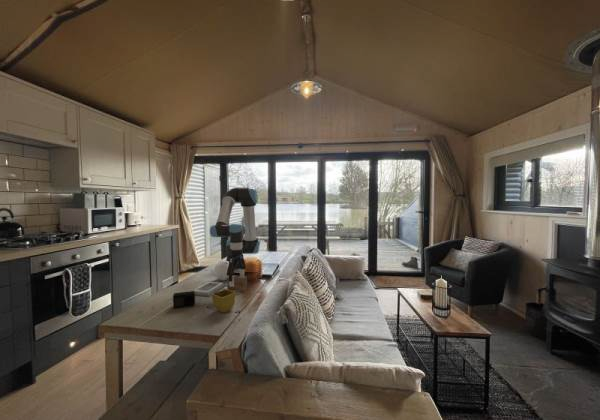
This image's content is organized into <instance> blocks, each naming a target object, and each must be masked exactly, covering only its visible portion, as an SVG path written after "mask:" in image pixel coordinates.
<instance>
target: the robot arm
mask: <svg viewBox="0 0 600 420" xmlns="http://www.w3.org/2000/svg"><path fill="white" fill-rule="evenodd" d="M257 203H259V197H258V192H257V189H256V188H255V187H248V186H247V187H233V188H231V189H229V190H227V192H226V193H225V194H224V195H223V196H222V199H221V204H222V205H221V207H220V210H219V214H218V217H217V219H216V223H215V225H211V226H210V228H209V234H210V237H212V238H229V239H227V240H226V244H225V246H226V259H225V261H228V262H229V265H228V270H227V276H229V286H232V287H234V276H233V275H234V273H235V270H237V269H236V268H238V269H239V276H245V270H246V268H247V265H246V262H245V258H244V255H245V254H246V255H257V254H258V253H259V251H260V245H261V239H260V238H259V237H258V235H257V234H256V233H257V232H256V215H255V207H256V206H257ZM235 204H240V207H242V213H243V224H241V223H231V224H230V225H229V220H230V218H231V214H232V210H233V207H234V206H235Z"/></svg>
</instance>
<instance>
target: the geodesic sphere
mask: <svg viewBox="0 0 600 420" xmlns="http://www.w3.org/2000/svg"><path fill="white" fill-rule="evenodd" d="M228 265H229V262H228V261H226V260H221V261H219V262H218V263H216V264H215V266H214V268H213V272H214V273H213V274H214V277H216V279H217V280H220V281H227V277H228V276H227V270H228Z"/></svg>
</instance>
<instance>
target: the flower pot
mask: <svg viewBox="0 0 600 420" xmlns="http://www.w3.org/2000/svg"><path fill="white" fill-rule="evenodd" d="M236 292H237V291H234V290H228V288H227V289H226V288H225V289H224V288H223V289H220V290H219V291H217V292H216V293H213V294H212V295H211V299H212V303H213V306H214V307H215V310H217V312H220V313H222V314H223V313H226V312H228V311H231V310H232V309H233V308H234V305H235V301H236V294H237V293H236Z"/></svg>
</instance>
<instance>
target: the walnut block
mask: <svg viewBox="0 0 600 420" xmlns="http://www.w3.org/2000/svg"><path fill="white" fill-rule="evenodd" d="M233 276H234V287H232V286H229V276H228V277H227V280H226V281H227V282H226V284H227V286H226V287H227V290H230V291H234V292H245V291H246V290H248V279H247V278H248V276H247V275H246V276H245V275H244V276H240V275H234V274H233Z"/></svg>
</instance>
